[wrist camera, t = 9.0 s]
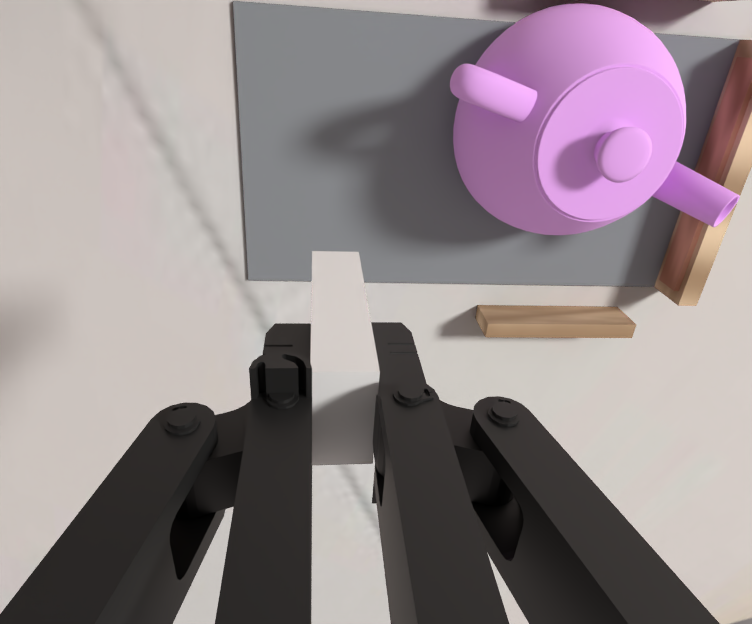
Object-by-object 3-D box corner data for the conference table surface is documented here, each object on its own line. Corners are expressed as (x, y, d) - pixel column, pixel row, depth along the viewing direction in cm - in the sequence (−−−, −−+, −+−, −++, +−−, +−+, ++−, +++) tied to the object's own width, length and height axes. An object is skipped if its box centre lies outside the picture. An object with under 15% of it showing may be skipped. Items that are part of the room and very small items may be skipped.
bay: (537, -38, 32) (561, -44, 29) (778, -16, 34) (825, -20, 30) (475, 318, 43) (487, 340, 40) (657, 319, 45) (682, 341, 42)
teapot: (613, 261, 42) (698, 330, 32) (383, 164, 36) (406, 213, 27) (730, 88, 36) (873, 111, 27) (479, -58, 31) (550, -93, 21)
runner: (233, 0, 31) (232, 0, 31) (758, 41, 35) (760, 41, 35) (248, 279, 40) (248, 280, 39) (669, 285, 44) (671, 286, 43)
